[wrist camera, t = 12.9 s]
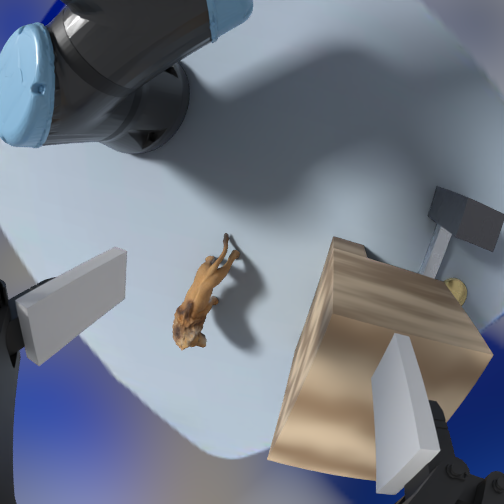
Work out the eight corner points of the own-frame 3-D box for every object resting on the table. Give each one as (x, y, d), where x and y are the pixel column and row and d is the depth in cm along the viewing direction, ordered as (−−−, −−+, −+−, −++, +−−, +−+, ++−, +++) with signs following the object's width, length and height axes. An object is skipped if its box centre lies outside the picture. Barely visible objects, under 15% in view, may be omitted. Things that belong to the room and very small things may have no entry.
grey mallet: (436, 185, 34) (468, 197, 24) (468, 199, 33) (505, 214, 24) (378, 337, 41) (386, 382, 32) (408, 345, 41) (421, 390, 31)
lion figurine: (219, 328, 47) (197, 362, 39) (187, 314, 48) (160, 346, 39) (245, 238, 42) (223, 260, 33) (208, 225, 42) (178, 244, 34)
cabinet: (333, 236, 39) (332, 313, 20) (438, 269, 36) (501, 356, 18) (294, 351, 45) (267, 459, 27) (387, 375, 43) (399, 482, 24)
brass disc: (434, 282, 37) (436, 285, 36) (462, 273, 36) (465, 276, 35) (438, 310, 38) (440, 314, 37) (465, 302, 37) (468, 305, 35)
